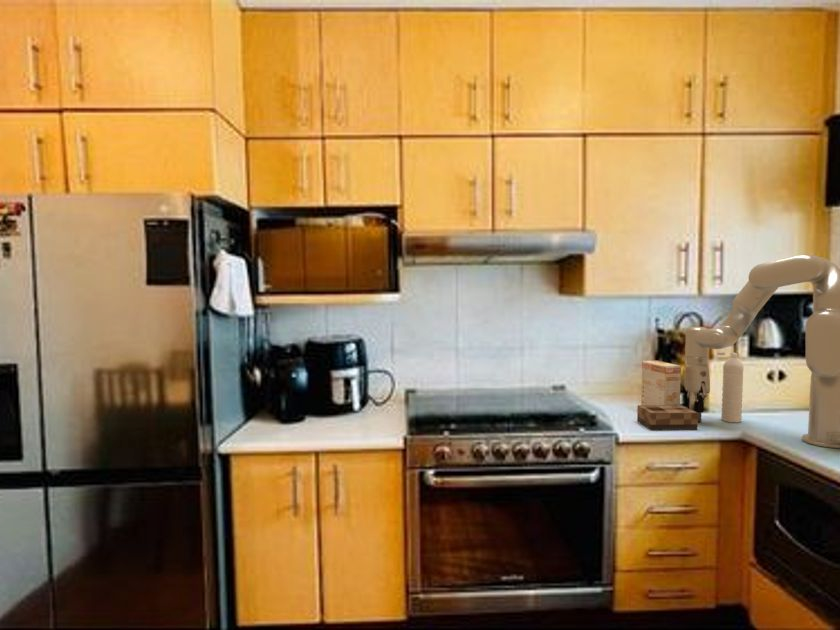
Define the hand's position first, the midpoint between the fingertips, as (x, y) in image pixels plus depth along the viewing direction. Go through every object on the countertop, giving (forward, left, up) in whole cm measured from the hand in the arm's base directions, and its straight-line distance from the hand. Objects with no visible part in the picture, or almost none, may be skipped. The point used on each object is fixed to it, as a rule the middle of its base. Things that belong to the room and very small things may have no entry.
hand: (695, 410), depth 209 cm
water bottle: (+1, -13, -4) cm, 14 cm away
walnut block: (-6, +13, -4) cm, 15 cm away
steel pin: (0, 0, -4) cm, 4 cm away
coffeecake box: (+13, +7, -4) cm, 16 cm away
